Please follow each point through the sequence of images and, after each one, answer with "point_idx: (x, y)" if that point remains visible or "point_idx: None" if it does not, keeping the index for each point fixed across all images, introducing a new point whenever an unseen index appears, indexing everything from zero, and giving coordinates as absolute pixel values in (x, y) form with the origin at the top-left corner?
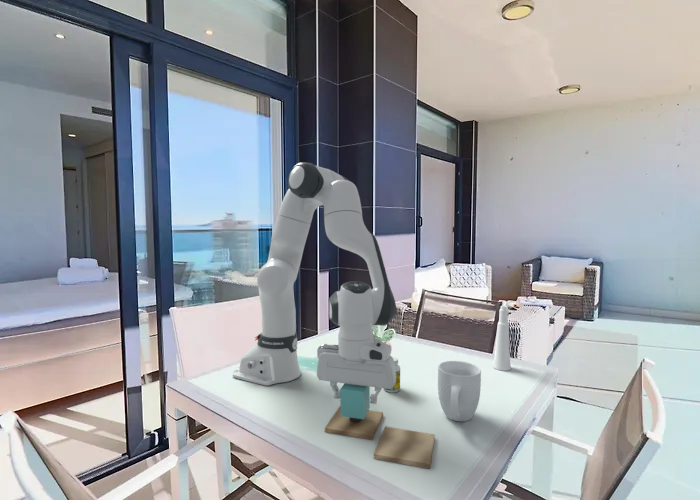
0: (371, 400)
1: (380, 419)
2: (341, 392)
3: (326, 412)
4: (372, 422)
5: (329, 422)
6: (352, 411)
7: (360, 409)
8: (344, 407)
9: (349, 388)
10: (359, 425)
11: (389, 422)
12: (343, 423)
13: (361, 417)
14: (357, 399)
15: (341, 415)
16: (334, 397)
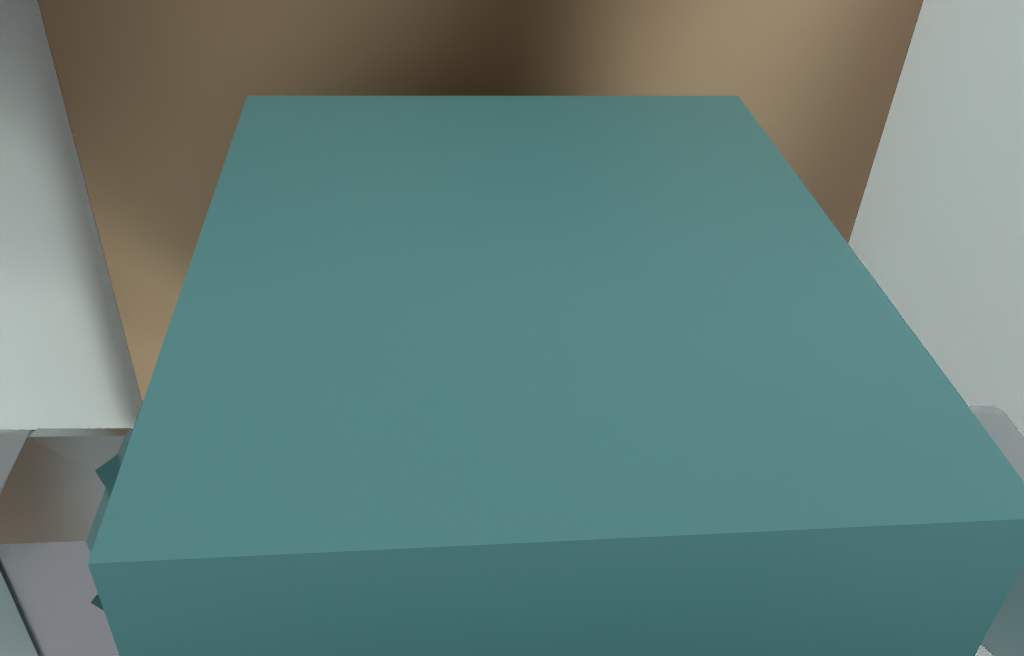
0: (76, 472)
1: (136, 346)
2: (950, 433)
3: (937, 337)
4: (192, 217)
5: (903, 20)
6: (505, 153)
7: (306, 193)
8: (711, 183)
9: (713, 626)
10: (365, 69)
11: (17, 343)
12: (655, 59)
13: (300, 109)
14: (376, 342)
15: (728, 103)
16: (999, 410)
